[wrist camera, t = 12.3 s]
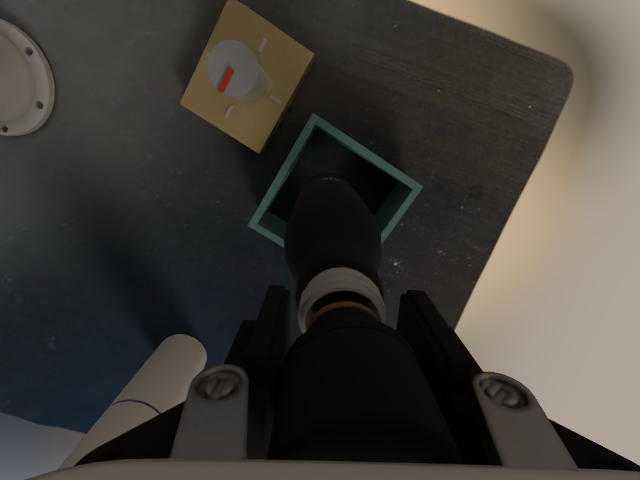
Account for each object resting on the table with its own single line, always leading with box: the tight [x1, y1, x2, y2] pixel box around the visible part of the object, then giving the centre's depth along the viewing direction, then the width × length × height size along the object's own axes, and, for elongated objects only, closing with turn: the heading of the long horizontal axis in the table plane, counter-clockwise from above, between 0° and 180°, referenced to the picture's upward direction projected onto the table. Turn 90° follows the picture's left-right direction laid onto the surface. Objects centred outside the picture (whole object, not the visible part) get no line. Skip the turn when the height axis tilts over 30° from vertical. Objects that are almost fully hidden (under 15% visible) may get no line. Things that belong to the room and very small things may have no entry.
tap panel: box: [180, 0, 315, 154], centre depth 36 cm, size 10×12×3 cm
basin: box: [248, 113, 423, 247], centre depth 37 cm, size 14×14×7 cm
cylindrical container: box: [58, 334, 207, 470], centre depth 36 cm, size 7×7×25 cm
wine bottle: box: [267, 174, 464, 465], centre depth 20 cm, size 6×6×30 cm
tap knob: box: [207, 39, 267, 103], centre depth 32 cm, size 5×5×5 cm
